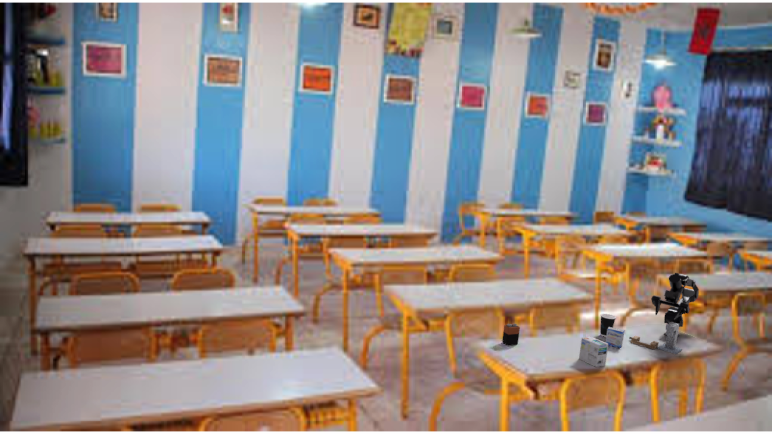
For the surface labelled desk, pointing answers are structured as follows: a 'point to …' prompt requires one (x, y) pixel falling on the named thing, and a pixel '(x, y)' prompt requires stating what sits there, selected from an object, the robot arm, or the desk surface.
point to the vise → (637, 341)
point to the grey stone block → (671, 335)
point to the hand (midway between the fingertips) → (664, 317)
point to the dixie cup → (606, 323)
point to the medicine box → (614, 337)
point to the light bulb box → (593, 351)
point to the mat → (670, 349)
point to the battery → (511, 334)
